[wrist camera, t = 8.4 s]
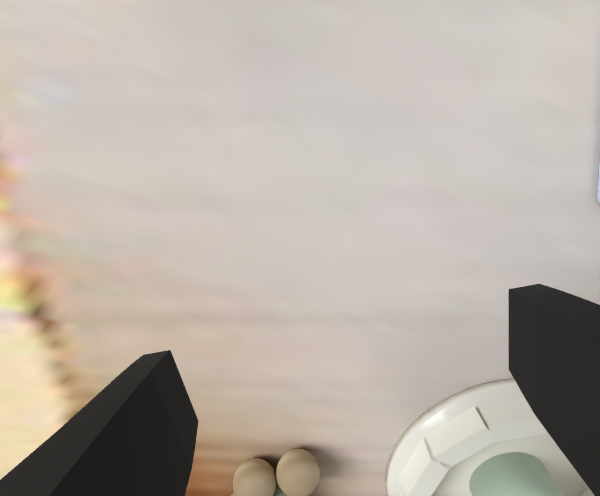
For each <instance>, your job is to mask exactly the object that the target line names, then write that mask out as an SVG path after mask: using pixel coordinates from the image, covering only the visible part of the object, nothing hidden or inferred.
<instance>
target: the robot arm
mask: <svg viewBox="0 0 600 496" xmlns="http://www.w3.org/2000/svg"><path fill="white" fill-rule="evenodd" d="M597 200H598V202H599V203H600V167H599V179H598V190H597ZM509 370H510V372H511V374H512V376H513V378H514V379H515V381H516V383H517V385H518V387H519V388H520V390H521V392H522V394H523V396H524V397H525V399H526V401H527V402H528V404H529V406H530V407H531V409H532V411H533V413H534V414H535V416H536V417H537V418H538V420H539V421H540V422H541V424H542V425H543V427H544V428H545V429H546V431H547V432H548V433H549V435H550V436H551V438H552V439H553V440H554V442H555V443H556V444H557V446H558V447H559V448H560V450H561V451H562V452H563V454H564V455H565V456H566V458H567V459H568V460H569V462H570V463H571V464H572V466H573V467H574V468H575V470H576V471H577V472H578V474H579V475H580V477H581V478H582V479H583V481H584V482H585V483H586V485H587V486H588V487H589V489H590V490H591V491H592V493H593V494H594V495H595V496H600V305H598V304H596V303H593V302H590V301H588V300H585V299H582V298H580V297H577V296H574V295H571V294H569V293H566V292H563V291H560V290H557V289H554V288H551V287H548V286H545V285H541V284H536V285H530V286H525V287H519V288H514V289H509ZM197 427H198V419H197V417H196V414H195V412H194V409H193V406H192V404H191V401H190V399H189V396H188V394H187V391H186V389H185V386H184V384H183V381H182V379H181V376H180V374H179V371H178V368H177V366H176V363H175V361H174V358H173V356H172V353H171V351H170V350H168V351H163V352H157V353H152V354H146V355H143V356H141V357H140V358H139V359H138V360H136V361H135V362H134V363H132V364H131V365H130V366H129V367H128V368H127V369H125V370H124V371H123V372H122V373H121V374H120V375H119V376H118V377H116V378H115V379H114V380H113V381H112V382H111V383H110V384H109V385H108V386H106V387H105V388H104V389H103V390H102V391H101V392H100V393H99V394H98V395H97V396H96V397H94V398H93V399H92V400H91V401H90V402H89V403H88V404H87V405H86V406H85V407H83V408H82V409H81V410H80V411H79V412H78V413H77V414H76V415H75V416H73V417H72V418H71V419H70V420H69V421H68V422H67V423H66V424H65V425H64V426H62V427H61V428H60V429H59V430H58V431H57V432H56V433H55V434H53V435H52V436H51V437H50V438H49V439H48V440H46V441H45V442H44V443H43V444H42V445H41V446H39V447H38V448H37V449H36V450H35V451H34V452H32V453H31V454H30V455H29V456H28V457H27V458H25V459H24V460H23V461H22V462H21V463H20V464H18V465H17V466H16V467H15V468H14V469H13V470H11V471H10V472H9V473H8V474H7V475H6V476H4V477H3V478H2V479H1V480H0V496H185V492H186V488H187V485H188V481H189V477H190V473H191V469H192V463H193V456H194V450H195V443H196V435H197Z"/></svg>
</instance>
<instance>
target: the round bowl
mask: <svg viewBox="0 0 600 496" xmlns="http://www.w3.org/2000/svg"><path fill="white" fill-rule="evenodd" d="M508 452H522V453H527V454H530V455H533V456H535V457H537V458H538V459H539V460H540V461H541V462H542V463H543V465H544V466H545V468H546V469H547V471H548V472H549V474H550V476H551V477H552V479H553V480H554V482H555V483H556V485H557V486H558V488H559V489H560V491H561V492H562V494H563V496H595V495H594V494H593V493H592V491H591V490H590V489H589V487H588V486H587V485H586V483H585V482H584V481H583V479H582V478H581V477H580V475H579V474H578V472H577V471H576V470H575V468H574V467H573V466H572V464H571V463H570V462H569V460H568V459H567V458H566V456H565V455H564V454H563V452H562V451H561V450H560V448H559V447H558V446H557V444H556V443H555V442H554V440H553V439H552V438H551V436H550V435H549V433H548V432H547V431H546V429H545V428H544V427H543V425H542V424H541V422H540V421H539V420H538V418H537V417H536V416H535V414H534V413H533V411H532V409H531V407H530V406H529V404H528V402H527V401H526V399H525V397H524V396H523V394H522V392H521V390H520V388H519V387H518V385H517V383H516V381H515V379H514V378H513V379H505V380H499V381H494V382H490V383H485V384H482V385H479V386H476V387H472V388H469V389H467V390H464V391H462V392H460V393H457V394H455V395H453V396H451V397H449V398H447V399H445V400H444V401H442V402H440V403H438V404H437V405H435V406H434V407H432V408H431V409H429V410H428V411H427V412H425V413H424V414H423V415H422V416H420V417H419V418H418V419H417V420H416V421H415V422H414V423H413V424H412V425H411V426H410V427H409V428H408V429H407V430H406V431H405V433H404V434H403V435H402V436H401V438H400V439H399V441H398V442H397V444H396V445H395V448H394V450H393V452H392V454H391V456H390V459H389V462H388V466H387V472H386V489H387V493H388V496H473V495H472V493H471V491H470V487H469V481H470V477H471V475H472V473H473V472H474V470H475V469H476V468H477V467H478V466H479V465H480V464H481V463H483V462H484V461H486V460H487V459H489V458H491V457H493V456H496V455H499V454H503V453H508Z"/></svg>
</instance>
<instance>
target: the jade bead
mask: <svg viewBox="0 0 600 496" xmlns="http://www.w3.org/2000/svg"><path fill="white" fill-rule="evenodd" d="M469 487H470V491H471V493H472V495H473V496H563V494H562V492H561V491H560V489H559V488H558V486H557V485H556V483H555V482H554V480H553V479H552V477H551V476H550V474H549V472H548V471H547V469H546V468H545V466H544V465H543V463H542V462H541V461H540V460H539V459H538V458H537V457H535V456H533V455H530V454H527V453H522V452H508V453H503V454H499V455H496V456H493V457H491V458H489V459H487V460H486V461H484V462H483V463H481V464H480V465H479V466H478V467H477V468H476V469H475V470H474V472H473V473H472V475H471V477H470V481H469Z"/></svg>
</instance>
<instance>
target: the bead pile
mask: <svg viewBox="0 0 600 496" xmlns="http://www.w3.org/2000/svg"><path fill="white" fill-rule="evenodd" d="M276 477H277V482H276ZM319 478H320V469H319V465H318V462H317V460H316V459H315V457H314V456H313V455H312V454H311V453H310V452H308V451H306V450H304V449H293V450H290V451H288V452H286V453H285V454H284V455H283V456H282V457H281V459H280V461H279V463H278V465H277V470H276V475H275V472H274V470H273V468H272V466H271V465H270V464H269V463H268V462H267V461H265V460H263V459H260V458H252V459H249V460H246V461H245V462H243V463H242V464H241V465H240V466H239V467H238V469H237V471H236V473H235V475H234V479H233V490H234V493H233V494H232V495H231V496H309V495H310V494H311V493H312V492H313V491H314V490H315V489H316V487H317V485H318V482H319Z"/></svg>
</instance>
